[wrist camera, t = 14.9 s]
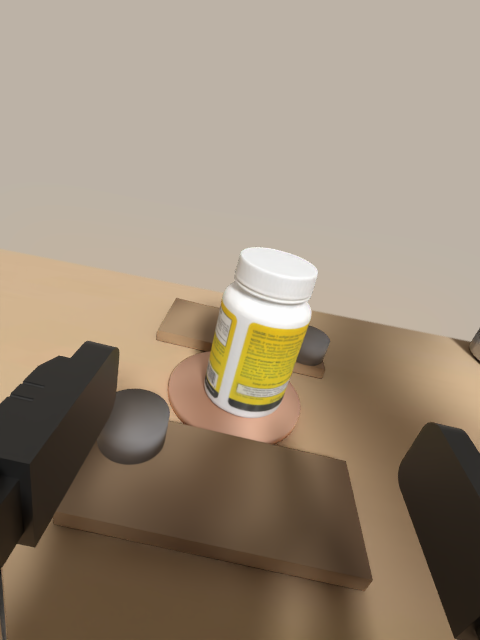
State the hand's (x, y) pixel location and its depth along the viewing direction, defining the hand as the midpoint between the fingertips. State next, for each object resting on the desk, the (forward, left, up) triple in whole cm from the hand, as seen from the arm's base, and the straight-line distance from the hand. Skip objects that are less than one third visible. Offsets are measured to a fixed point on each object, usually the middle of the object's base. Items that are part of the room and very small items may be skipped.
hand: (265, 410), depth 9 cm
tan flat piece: (0, -10, -8) cm, 13 cm away
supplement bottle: (0, -10, -8) cm, 13 cm away
